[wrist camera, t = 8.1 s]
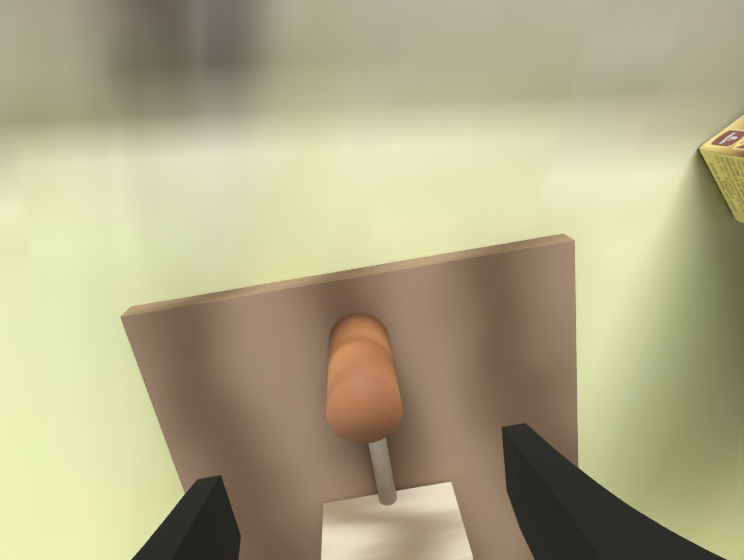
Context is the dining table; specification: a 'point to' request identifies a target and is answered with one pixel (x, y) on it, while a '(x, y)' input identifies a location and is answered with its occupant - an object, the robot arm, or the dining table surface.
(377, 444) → the joystick
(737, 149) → the candy box
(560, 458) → the robot arm
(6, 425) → the dining table surface
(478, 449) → the thin wooden panel
